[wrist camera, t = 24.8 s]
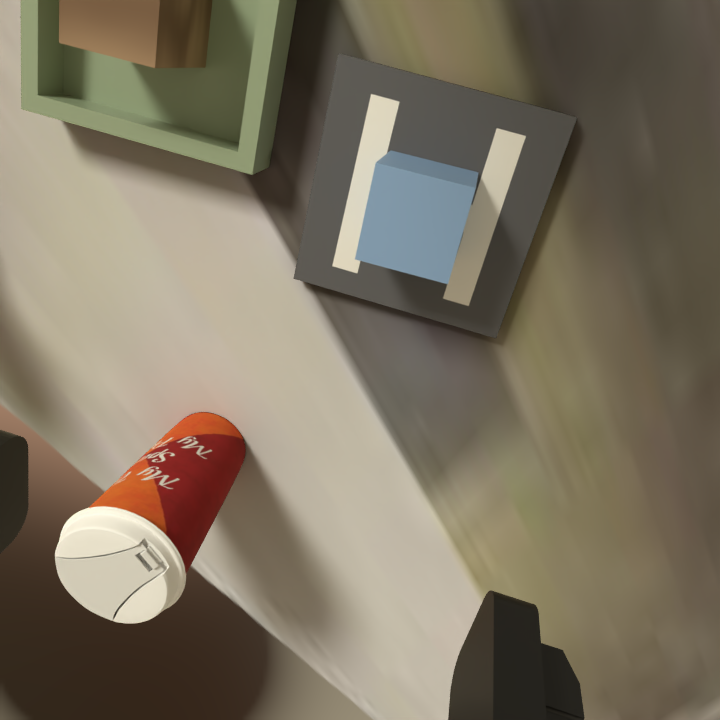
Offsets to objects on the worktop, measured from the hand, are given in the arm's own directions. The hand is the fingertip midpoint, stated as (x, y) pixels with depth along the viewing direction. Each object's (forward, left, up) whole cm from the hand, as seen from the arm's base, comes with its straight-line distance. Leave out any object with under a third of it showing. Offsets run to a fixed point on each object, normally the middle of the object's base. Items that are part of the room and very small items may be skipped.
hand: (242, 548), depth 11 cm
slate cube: (0, 0, -29) cm, 29 cm away
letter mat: (0, 0, -30) cm, 30 cm away
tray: (-6, -16, -30) cm, 35 cm away
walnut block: (-6, -16, -30) cm, 34 cm away
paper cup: (+22, -10, -30) cm, 39 cm away
